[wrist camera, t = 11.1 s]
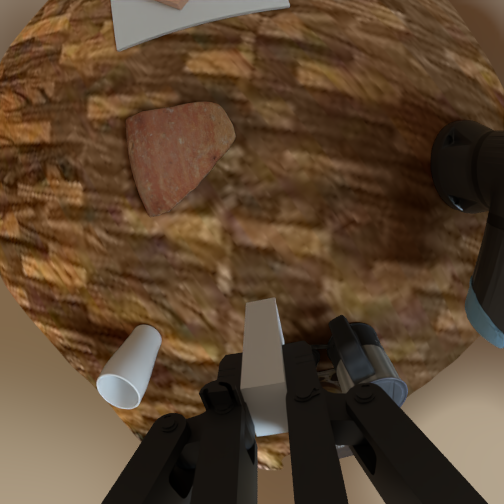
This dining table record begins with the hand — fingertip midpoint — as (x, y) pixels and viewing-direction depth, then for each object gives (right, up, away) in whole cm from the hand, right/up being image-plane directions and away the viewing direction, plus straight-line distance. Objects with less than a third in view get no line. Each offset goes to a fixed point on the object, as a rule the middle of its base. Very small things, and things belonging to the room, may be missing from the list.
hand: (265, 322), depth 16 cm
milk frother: (+13, -13, +35) cm, 39 cm away
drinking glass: (-19, -11, +35) cm, 41 cm away
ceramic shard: (-10, +17, +26) cm, 33 cm away
